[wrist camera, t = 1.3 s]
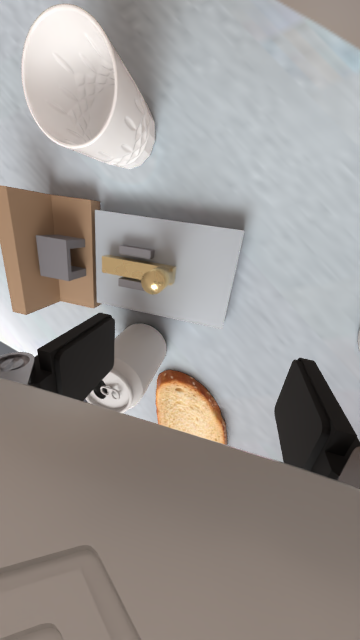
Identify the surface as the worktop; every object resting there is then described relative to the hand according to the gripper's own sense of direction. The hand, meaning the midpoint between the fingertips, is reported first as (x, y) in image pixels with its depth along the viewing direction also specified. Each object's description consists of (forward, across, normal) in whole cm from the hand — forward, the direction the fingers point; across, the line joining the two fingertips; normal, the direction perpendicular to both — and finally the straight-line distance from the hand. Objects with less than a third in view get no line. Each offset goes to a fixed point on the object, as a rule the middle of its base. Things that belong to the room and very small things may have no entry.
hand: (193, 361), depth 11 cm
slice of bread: (+21, +1, +26) cm, 33 cm away
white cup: (+20, +14, -14) cm, 28 cm away
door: (+20, +13, 0) cm, 24 cm away
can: (+20, +10, +12) cm, 25 cm away
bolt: (+18, +10, 0) cm, 20 cm away
